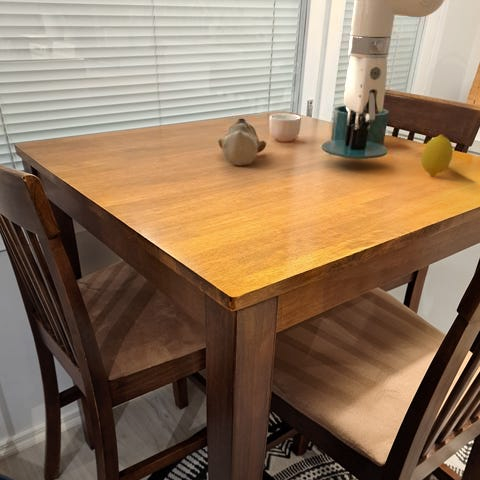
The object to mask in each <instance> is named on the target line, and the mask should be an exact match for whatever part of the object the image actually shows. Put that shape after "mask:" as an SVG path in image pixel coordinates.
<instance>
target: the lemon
mask: <svg viewBox="0 0 480 480" xmlns="http://www.w3.org/2000/svg"><path fill="white" fill-rule="evenodd" d="M452 144H453V143H452V142H451V141H450V139H448V138H447V137H445V136H444V134H439V135H438V136H435V137H433V138H431V139H430V140H428V141H427V142H426V144H425V145H424V148H423V151H422V153H421V165H422V168H423V169H424V170H425V171H426V172H427V173H429V175H430V176H431V177H435V176H436V175H438V174H441V173H442V172H444V171H445V170H447V168H448V167H449V166H450V164H451V162H452V158H453V145H452Z"/></svg>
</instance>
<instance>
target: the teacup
mask: <svg viewBox="0 0 480 480" xmlns="http://www.w3.org/2000/svg"><path fill="white" fill-rule="evenodd" d="M268 119H269V133H270V136H271V138H273V139H274V140H275V141H277V142H282V143H289V142H292V141H294V140H295V139H297V137H298V136H299V134H300V129H301V123H302V117H301V116H300V115H298V114H294V113H274V114H271V115H270V116H269V118H268Z"/></svg>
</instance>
